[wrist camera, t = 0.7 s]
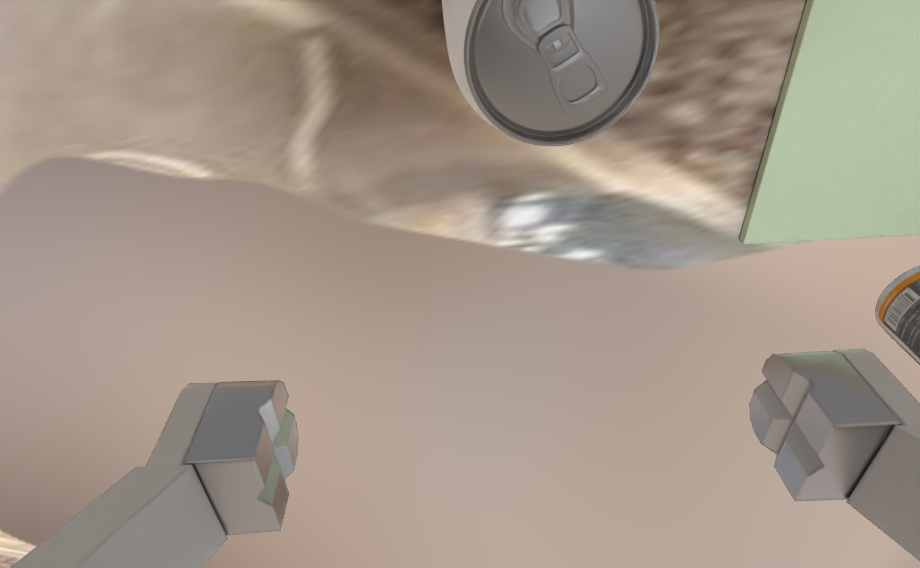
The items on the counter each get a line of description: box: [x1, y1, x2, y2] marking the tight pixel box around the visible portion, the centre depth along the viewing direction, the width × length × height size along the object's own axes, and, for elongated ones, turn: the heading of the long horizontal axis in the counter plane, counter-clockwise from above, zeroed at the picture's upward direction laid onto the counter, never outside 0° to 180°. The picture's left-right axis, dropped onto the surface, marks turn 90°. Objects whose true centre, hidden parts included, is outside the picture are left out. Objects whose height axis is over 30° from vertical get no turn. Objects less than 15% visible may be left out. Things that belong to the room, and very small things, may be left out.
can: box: [442, 0, 660, 146], centre depth 21 cm, size 6×6×12 cm
